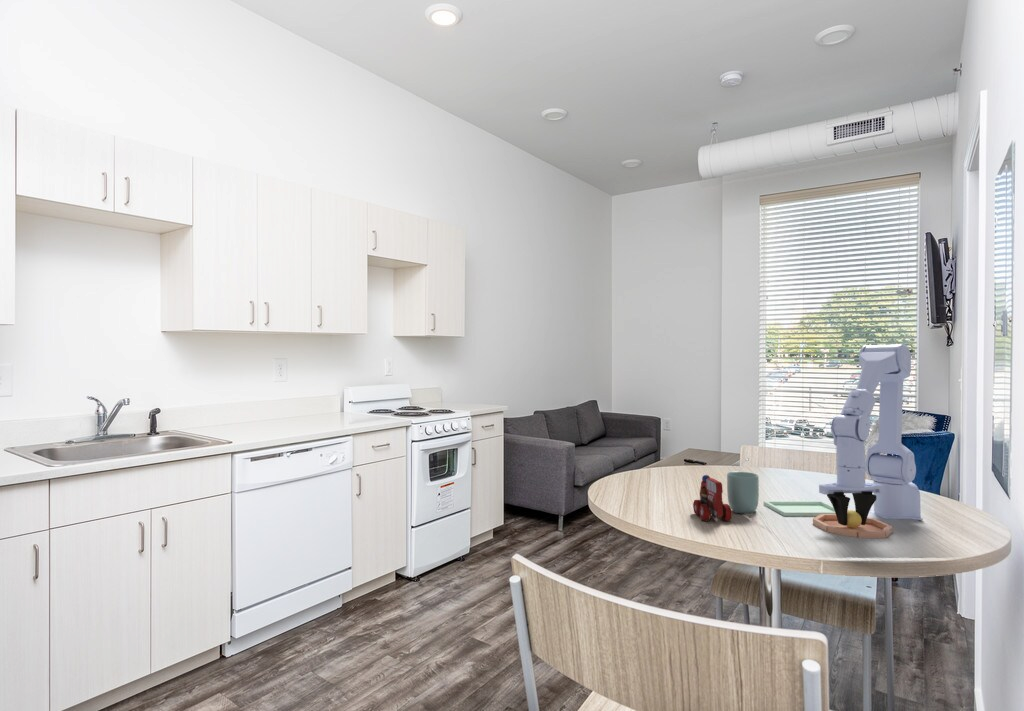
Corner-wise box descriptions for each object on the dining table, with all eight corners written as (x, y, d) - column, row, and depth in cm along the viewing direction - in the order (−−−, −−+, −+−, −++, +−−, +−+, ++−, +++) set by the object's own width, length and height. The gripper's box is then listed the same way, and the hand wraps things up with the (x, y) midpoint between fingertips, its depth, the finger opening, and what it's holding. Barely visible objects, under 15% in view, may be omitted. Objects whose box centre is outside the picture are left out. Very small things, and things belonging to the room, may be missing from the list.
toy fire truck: (716, 511, 147) (715, 472, 148) (734, 524, 135) (734, 481, 135) (690, 511, 147) (689, 472, 148) (706, 524, 135) (705, 481, 135)
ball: (855, 525, 132) (854, 508, 132) (865, 530, 128) (865, 512, 128) (838, 525, 132) (837, 508, 132) (848, 530, 128) (847, 512, 128)
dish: (864, 521, 137) (864, 514, 137) (906, 540, 122) (906, 532, 122) (803, 521, 137) (803, 513, 137) (837, 540, 122) (837, 531, 122)
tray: (822, 506, 152) (822, 501, 152) (848, 518, 140) (848, 512, 140) (763, 506, 152) (763, 501, 152) (784, 518, 140) (784, 512, 140)
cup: (762, 516, 141) (761, 477, 142) (730, 515, 143) (729, 476, 143) (755, 509, 149) (754, 472, 149) (724, 507, 151) (724, 471, 151)
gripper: (867, 462, 134) (868, 518, 134) (810, 463, 133) (811, 520, 133) (889, 467, 127) (890, 527, 127) (829, 468, 126) (830, 528, 126)
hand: (851, 524), depth 130 cm, fingers closed on ball, 4 cm apart
